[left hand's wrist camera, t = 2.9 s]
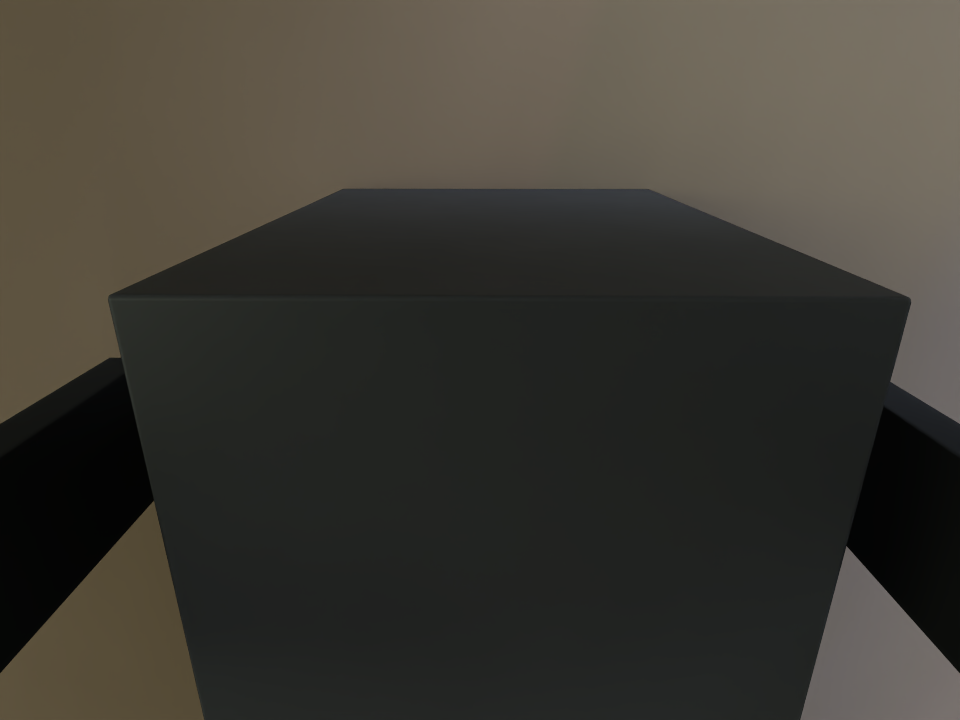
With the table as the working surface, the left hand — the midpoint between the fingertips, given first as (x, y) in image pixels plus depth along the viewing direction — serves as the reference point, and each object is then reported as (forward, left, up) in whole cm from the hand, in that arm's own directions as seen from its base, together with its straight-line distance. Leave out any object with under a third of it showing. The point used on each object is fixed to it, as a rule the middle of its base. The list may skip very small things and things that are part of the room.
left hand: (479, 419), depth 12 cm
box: (+2, +10, -5) cm, 11 cm away
